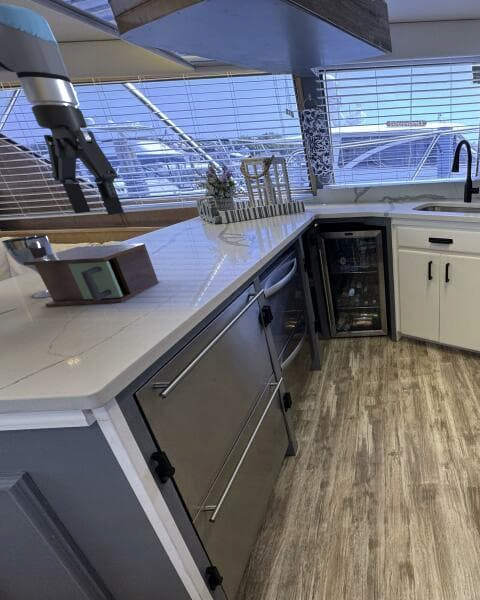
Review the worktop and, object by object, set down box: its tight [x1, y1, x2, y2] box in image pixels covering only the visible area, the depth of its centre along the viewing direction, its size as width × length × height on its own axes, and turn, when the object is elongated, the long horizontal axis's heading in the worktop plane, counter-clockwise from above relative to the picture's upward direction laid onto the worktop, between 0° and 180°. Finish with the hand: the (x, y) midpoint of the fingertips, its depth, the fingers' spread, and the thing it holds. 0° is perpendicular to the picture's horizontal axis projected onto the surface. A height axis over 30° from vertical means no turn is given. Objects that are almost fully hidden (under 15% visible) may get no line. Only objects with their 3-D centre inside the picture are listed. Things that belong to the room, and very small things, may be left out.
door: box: [68, 261, 123, 301], centre depth 76 cm, size 9×5×9 cm, turn 94°
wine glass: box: [1, 234, 54, 299], centre depth 85 cm, size 8×8×15 cm
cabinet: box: [23, 243, 159, 308], centre depth 84 cm, size 18×15×11 cm
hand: (99, 213), depth 74 cm, fingers open, 13 cm apart
